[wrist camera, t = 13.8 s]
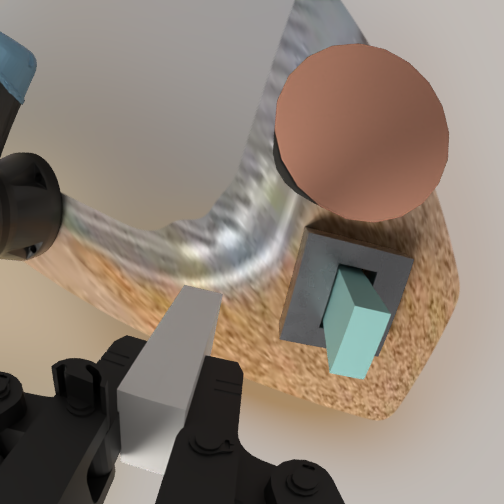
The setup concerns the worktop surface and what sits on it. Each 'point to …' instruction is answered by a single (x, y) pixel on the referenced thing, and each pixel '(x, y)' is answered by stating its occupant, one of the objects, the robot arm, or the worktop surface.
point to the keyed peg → (353, 323)
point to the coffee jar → (360, 133)
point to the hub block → (322, 277)
